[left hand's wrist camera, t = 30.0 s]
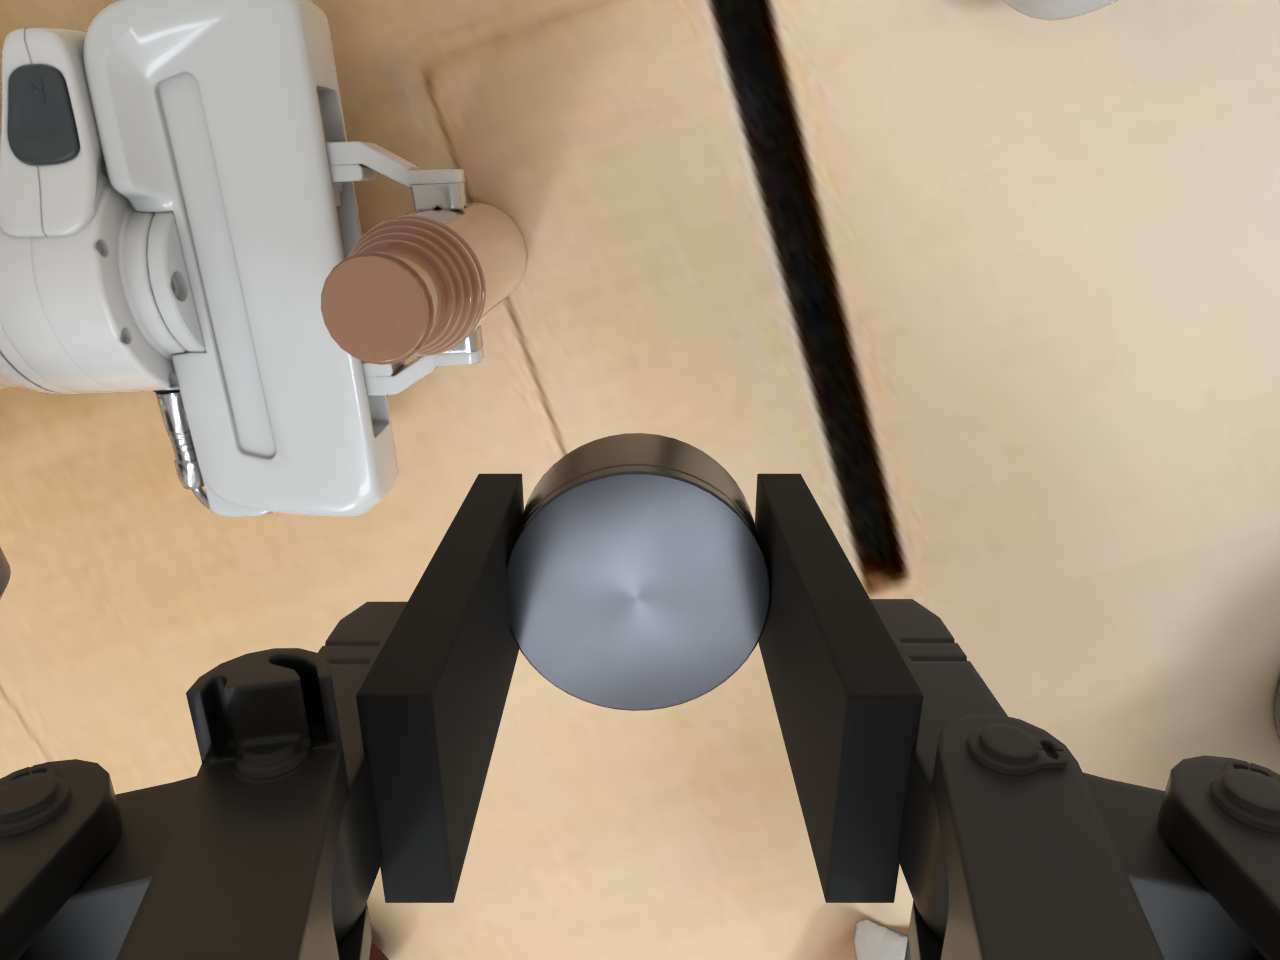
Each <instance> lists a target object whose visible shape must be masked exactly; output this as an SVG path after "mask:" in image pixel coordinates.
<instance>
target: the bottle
mask: <svg viewBox="0 0 1280 960" xmlns="http://www.w3.org/2000/svg"><path fill="white" fill-rule="evenodd" d="M526 262H527V252H526V245H525V241H524V238H523V236H522V234H521V231H520V230H519V228H518V226H517V225H516V224H515V222H514V221H513V220H512V219H511V218H510V217H509V216H508V215H507V214H506V213H504V212H503V211H501V210H500V209H498V208H496V207H494V206H491V205H488V204H484V203H477V202H473V203H467V208H464V209H452V210H447V209H442V208H439V209H434V210H428V211H423V212H417V213H412V214H407V215H402V216H397V217H392V218H389V219H386V220H384V221H382V222H380V223H378V224H376V225H375V226H373V227H372V228H370V229H369V230H368V231H367V232H366V233H365V234H364V235H363V236H362V237H361V238H360V239H359V240H358V241H357V243H356V244H355V245H354V247H353V249H352V250H351V252H350V254H349V257H347V258H345V259H344V260H342V261H341V262H340V263H339V264H337V265H336V266H335V267H334V268H333V269H332V271H331V272H330V274H329V275H328V277H327V278H326V279H325V283H324V286H323V289H322V293H321V312H322V316H323V320H324V324H325V326H326V327H327V329H328V331H329V333H330V335H331V337H332V338H333V339H334V340H335V342H336V343H337V344H338V345H339V346H340V348H341V349H343V350H344V351H346V352H347V353H349V354H350V355H351V356H352V357H354V358H357V359H359V360H362V361H364V362H366V363H371V364H378V365H386V364H395V363H398V362H400V361H403V360H405V359H408V358H409V357H410V356H413V357H426V356H432V355H436V354H440V353H443V352H446V351H449V350H451V349H453V348H455V347H456V346H458V345H459V344H461V343H462V342H463V341H465V340H466V339H467V338H468V337H469V336H470V335H471V334H472V333H473V332H474V331H475V330H476V329H477V327H478V326H479V325H480V324H481V323H482V322H483V321H484V320H485V319H486V318H487V317H488V316H489V315H490V314H491V313H492V312H493V311H494V310H495V309H496V308H497V307H498V306H499V305H500V303H501V302H502V301H503V300H504V299H505V298H506V297H507V296H508V295H509V294H510V293H511V292H512V291H513V290H514V289H515V288H516V286H517V285H518V284H519V282H520V281H521V279H522V277H523V274H524V271H525V268H526Z"/></svg>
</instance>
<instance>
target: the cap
mask: <svg viewBox="0 0 1280 960" xmlns="http://www.w3.org/2000/svg"><path fill="white" fill-rule="evenodd" d="M506 579H507V595H508V610H509V625H510V631H511V633H512V636H513V638H514V640H515V642H516V643H517V645H518V647H519V649H520V650H521V652H522V653H523V655H524V656H525V657H526V659H527V660H528V661H529V663H530V664H531V665H532V666H533V667H534V668H535V669H536V670H537V671H538V672H539V673H540V674H541V675H542V676H543V677H544V678H546V679H547V680H548V681H550V682H551V683H552V684H553V685H555V686H556V687H558V688H560V689H561V690H563V691H565V692H566V693H568V694H570V695H572V696H574V697H576V698H579V699H581V700H583V701H586V702H589V703H592V704H595V705H599V706H603V707H608V708H613V709H621V710H632V711H633V710H653V709H661V708H667V707H671V706H675V705H679V704H682V703H685V702H688V701H690V700H693V699H696V698H698V697H700V696H702V695H704V694H706V693H708V692H709V691H711V690H713V689H714V688H716V687H717V686H719V685H720V684H722V683H723V682H725V681H726V680H727V679H728V678H729V677H730V676H732V675H733V674H734V673H735V672H736V671H737V670H738V669H739V668H740V667H741V666H742V664H743V663H744V662H745V661H746V660H747V659H748V657H749V656H750V654H751V653H752V651H753V650H754V648H755V647H756V645H757V643H758V641H759V639H760V637H761V635H762V633H763V631H764V628H765V625H766V622H767V619H768V614H769V609H770V603H771V580H770V571H769V567H768V563H767V560H766V556H765V553H764V550H763V547H762V544H761V541H760V538H759V535H758V532H757V529H756V526H755V523H754V520H753V517H752V514H751V511H750V508H749V506H748V504H747V501H746V499H745V497H744V495H743V493H742V491H741V490H740V488H739V486H738V485H737V483H736V482H735V480H734V479H733V478H732V477H731V476H730V474H729V473H728V472H727V471H726V470H725V469H724V468H723V467H722V466H721V465H720V464H719V463H718V462H717V461H715V460H714V459H713V458H711V457H710V456H708V455H707V454H706V453H704V452H703V451H701V450H699V449H697V448H695V447H693V446H691V445H689V444H687V443H684V442H682V441H679V440H676V439H673V438H669V437H665V436H660V435H654V434H643V433H635V434H621V435H614V436H608V437H605V438H602V439H598V440H595V441H592V442H590V443H587V444H585V445H583V446H581V447H579V448H577V449H575V450H574V451H572V452H570V453H568V454H567V455H565V456H564V457H563V458H562V459H560V460H559V461H558V462H557V463H555V464H554V465H553V466H552V467H551V468H550V469H549V470H548V471H547V472H546V473H545V474H544V475H543V477H542V478H541V480H540V481H539V482H538V484H537V485H536V486H535V488H534V490H533V492H532V494H531V496H530V497H529V499H528V502H527V504H526V507H525V510H524V513H523V516H522V518H521V521H520V524H519V527H518V530H517V532H516V535H515V538H514V541H513V544H512V547H511V549H510V552H509V555H508V558H507V561H506Z"/></svg>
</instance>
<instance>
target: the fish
mask: <svg viewBox="0 0 1280 960" xmlns="http://www.w3.org/2000/svg"><path fill="white" fill-rule="evenodd" d="M907 939H908V936H907V935H904V934H902V933H899V932H896V931H894V930H891V929H888V928H886V927H884V926H882V925H880V924H878V923H876V922H873V921H870V920H867V919H864V920H860V921H858V922H857V923H856V928H855V934H854V947H855V954H856V960H904V958H905V952H906V945H907Z"/></svg>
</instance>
